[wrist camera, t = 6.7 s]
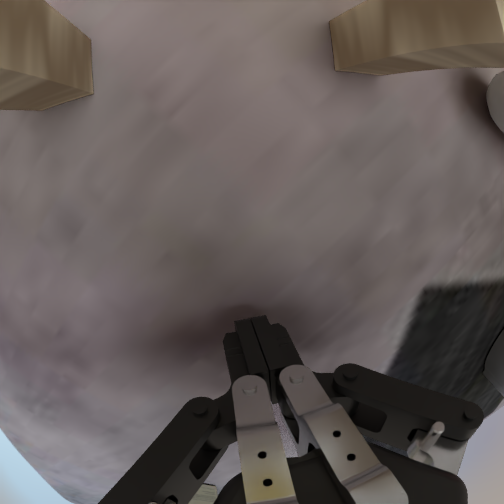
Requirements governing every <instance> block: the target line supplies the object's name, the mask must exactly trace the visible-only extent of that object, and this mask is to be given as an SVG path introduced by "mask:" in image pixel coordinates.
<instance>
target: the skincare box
mask: <svg viewBox="0 0 504 504" xmlns="http://www.w3.org/2000/svg"><path fill="white" fill-rule="evenodd" d="M217 497H218V495H217V489H216V486H210V485H205V484H202V486H201V487H200V488H199V490H198V491H197V492H196V494H195V495H194V496H193V498H192V499H191V501H190V502H189V503H188V504H213V503H214V501H215V500H216V498H217Z"/></svg>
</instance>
